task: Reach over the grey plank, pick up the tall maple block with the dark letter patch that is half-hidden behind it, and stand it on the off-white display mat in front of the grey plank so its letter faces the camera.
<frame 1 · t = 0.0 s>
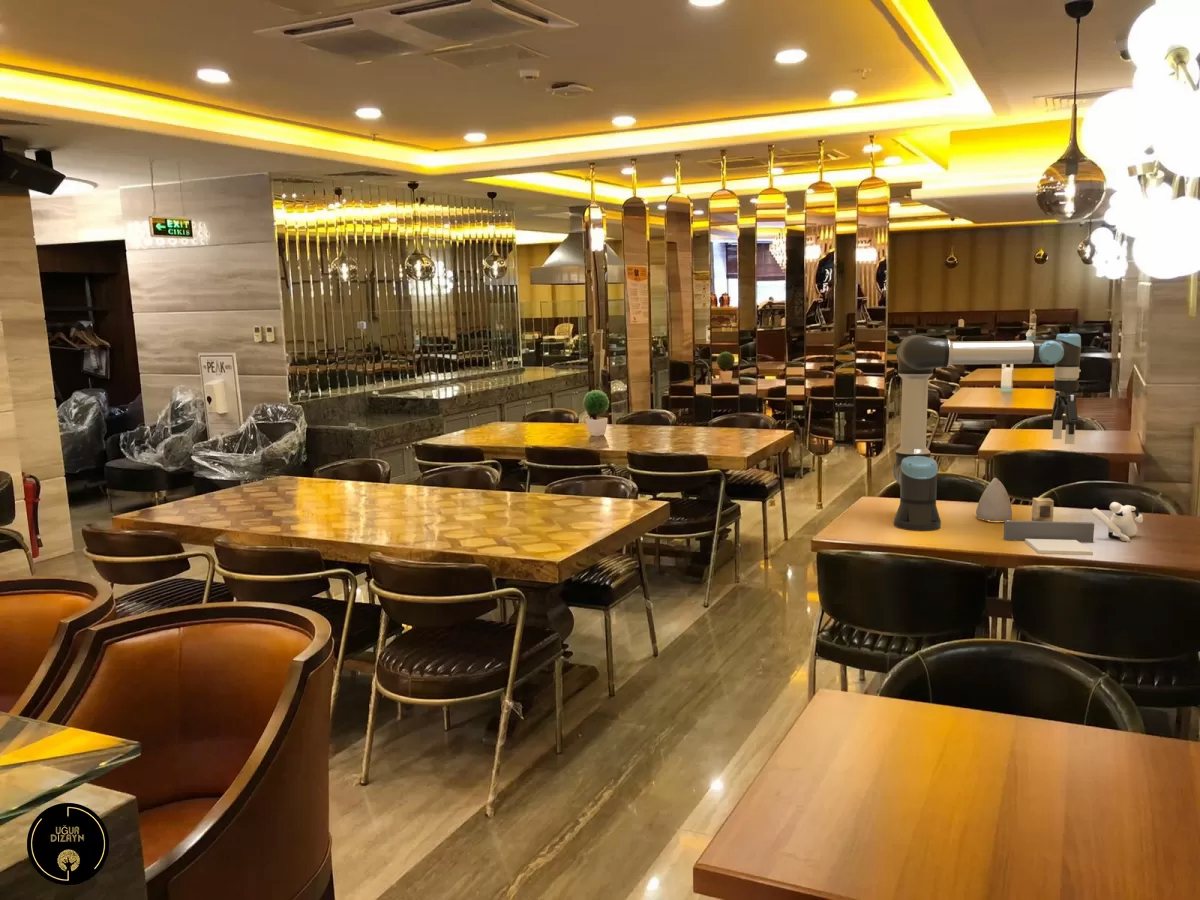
hand: (1063, 441, 312), 28 cm above the table, fingers open, 13 cm apart
letter block: (1041, 535, 295), on the table
sculpture: (993, 520, 320), on the table
grey plank: (1047, 540, 289), on the table
display mat: (1057, 548, 279), on the table
cricket player figurine: (1120, 539, 289), on the table
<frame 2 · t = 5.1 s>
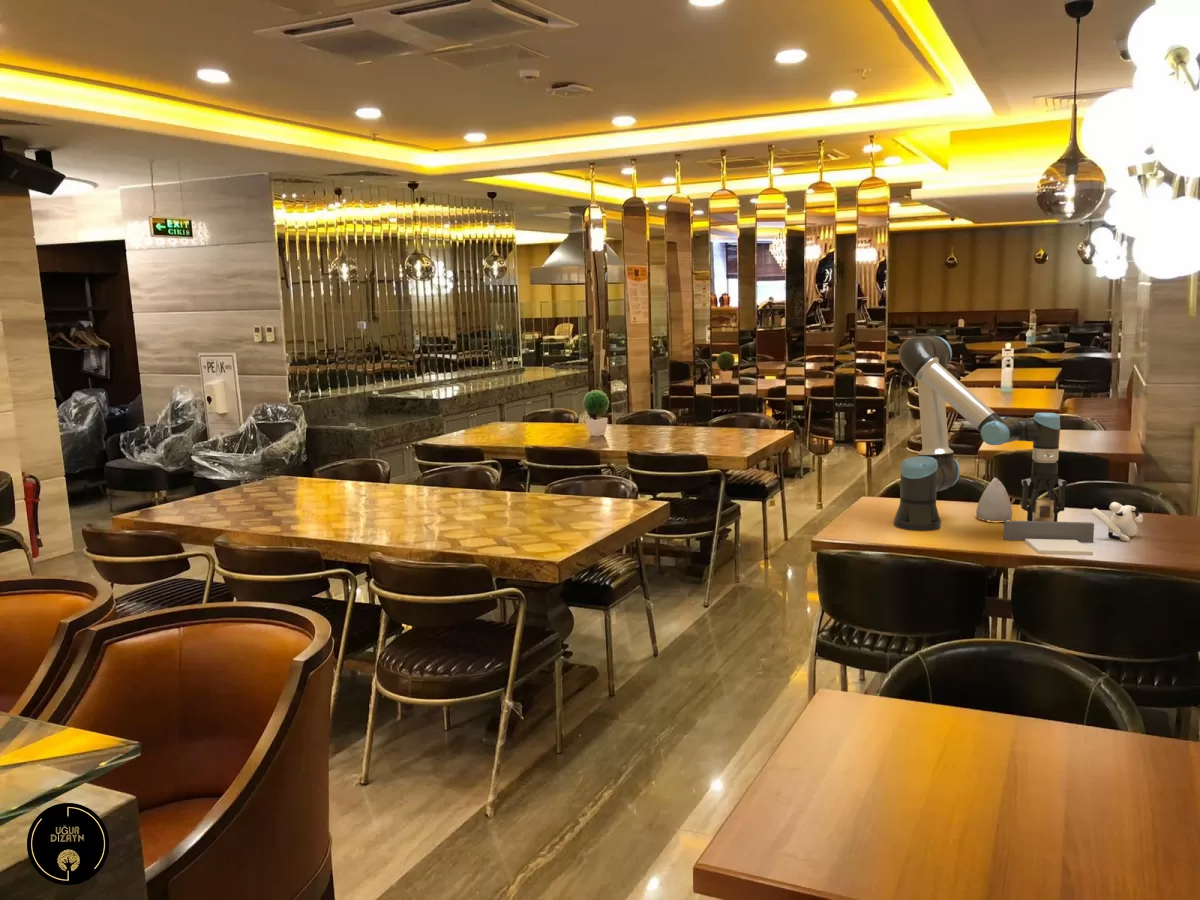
hand: (1041, 531, 295), 1 cm above the table, fingers closed on letter block, 5 cm apart
letter block: (1041, 535, 295), on the table, touching gripper
everything else where it was.
when the fingers open (4 cm above the table, at t = 13.0 s): letter block drops 1 cm, resting on display mat.
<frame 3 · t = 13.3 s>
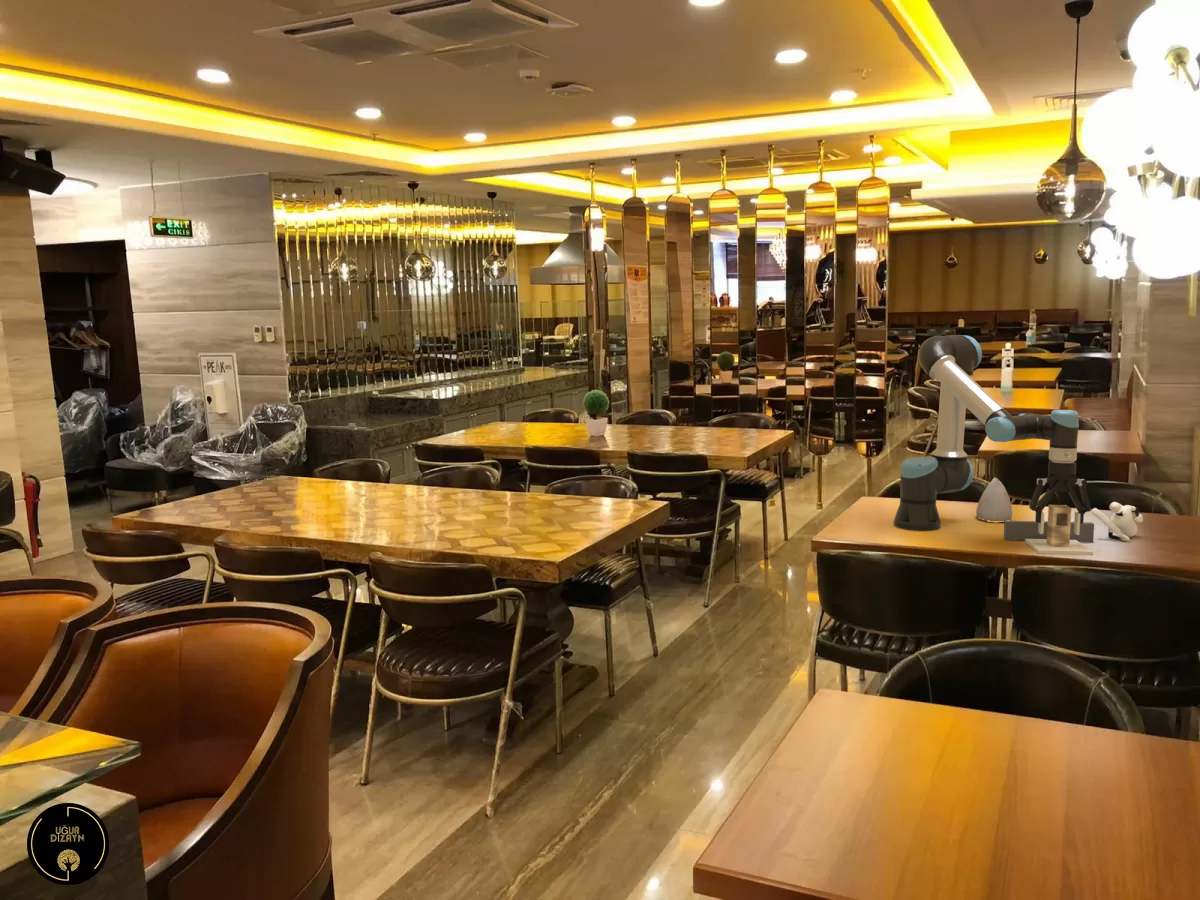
hand: (1058, 533, 278), 5 cm above the table, fingers open, 9 cm apart
letter block: (1057, 545, 279), point 1 cm above the table, touching display mat
everything else where it was.
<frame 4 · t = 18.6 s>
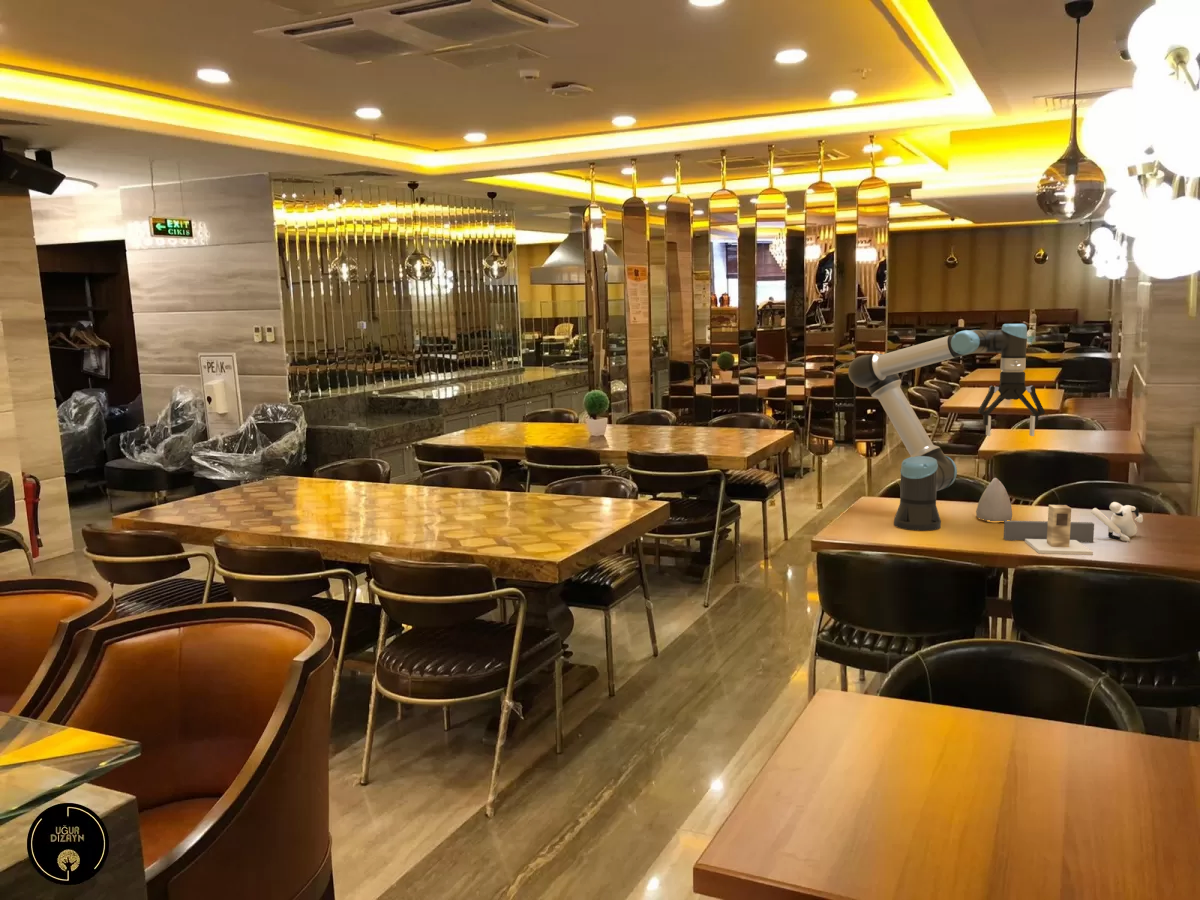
hand: (1009, 435, 300), 32 cm above the table, fingers open, 13 cm apart
nothing on the table moved.
at the end: letter block inside the target area (0.0 cm from its centre), point 1.0 cm above the table; letter block tilted 0°; the gripper is holding nothing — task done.
